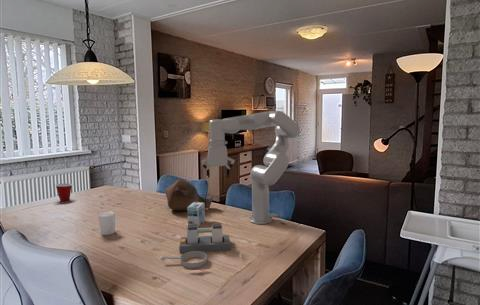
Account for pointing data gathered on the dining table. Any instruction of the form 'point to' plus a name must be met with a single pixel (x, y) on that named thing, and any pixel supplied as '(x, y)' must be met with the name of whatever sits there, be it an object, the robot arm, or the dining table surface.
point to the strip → (205, 244)
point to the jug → (184, 196)
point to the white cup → (107, 223)
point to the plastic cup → (64, 191)
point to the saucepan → (189, 255)
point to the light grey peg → (192, 234)
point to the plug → (216, 232)
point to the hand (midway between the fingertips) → (218, 176)
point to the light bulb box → (196, 213)
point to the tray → (204, 230)
